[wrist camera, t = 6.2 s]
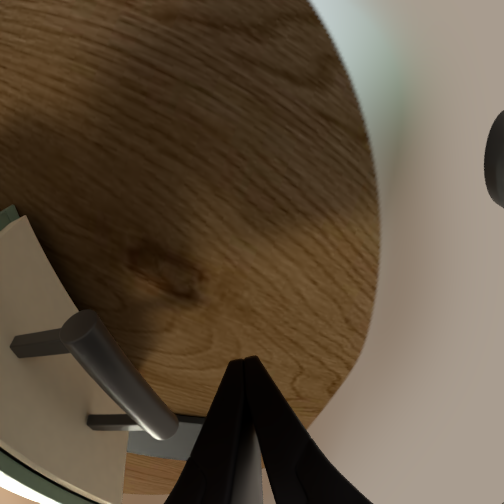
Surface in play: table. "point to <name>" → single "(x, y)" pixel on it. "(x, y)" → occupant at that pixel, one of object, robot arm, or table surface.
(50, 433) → the drawer
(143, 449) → the coaster
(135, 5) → the table surface
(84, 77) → the table surface
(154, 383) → the table surface
